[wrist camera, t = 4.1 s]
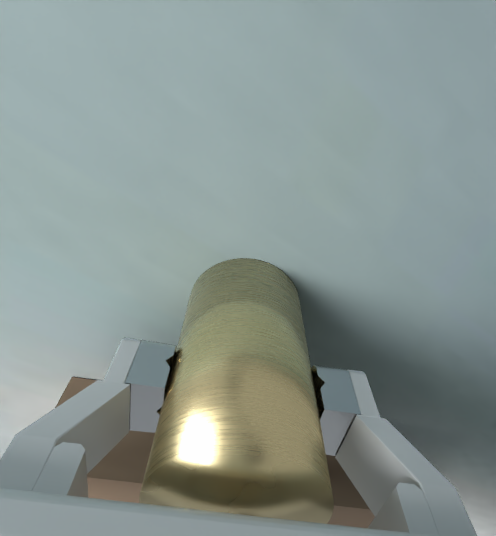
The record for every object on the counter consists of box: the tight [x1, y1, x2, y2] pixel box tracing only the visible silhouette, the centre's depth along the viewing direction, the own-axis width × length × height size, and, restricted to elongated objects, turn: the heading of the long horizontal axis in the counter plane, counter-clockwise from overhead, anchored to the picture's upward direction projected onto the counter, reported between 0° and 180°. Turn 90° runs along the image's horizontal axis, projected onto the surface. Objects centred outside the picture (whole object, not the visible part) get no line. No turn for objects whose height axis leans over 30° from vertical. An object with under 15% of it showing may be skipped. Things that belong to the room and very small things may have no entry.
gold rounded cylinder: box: [139, 258, 334, 524], centre depth 11 cm, size 4×4×7 cm
